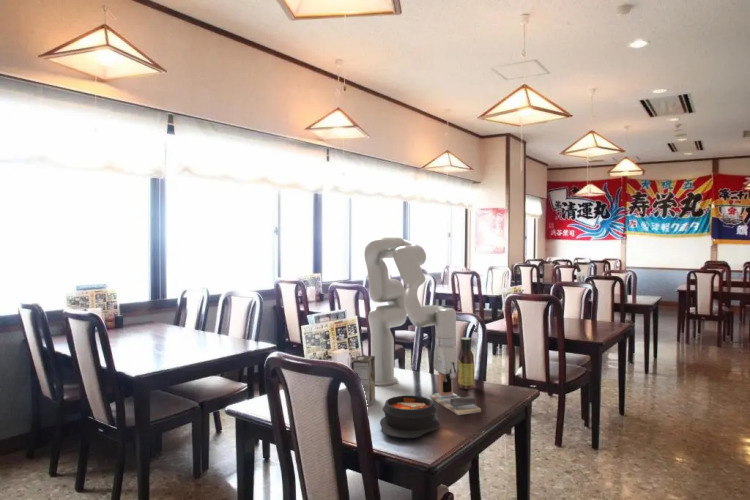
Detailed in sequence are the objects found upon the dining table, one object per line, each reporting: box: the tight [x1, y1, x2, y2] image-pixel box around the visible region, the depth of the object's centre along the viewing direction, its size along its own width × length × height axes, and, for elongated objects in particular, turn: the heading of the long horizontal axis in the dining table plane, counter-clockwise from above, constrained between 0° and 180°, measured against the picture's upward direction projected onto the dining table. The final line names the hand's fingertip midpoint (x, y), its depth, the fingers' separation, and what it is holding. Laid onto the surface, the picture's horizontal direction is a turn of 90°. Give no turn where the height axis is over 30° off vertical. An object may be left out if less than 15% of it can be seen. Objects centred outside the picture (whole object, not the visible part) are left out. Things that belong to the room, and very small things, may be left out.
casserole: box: [379, 394, 440, 439], centre depth 159 cm, size 25×19×8 cm
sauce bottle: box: [457, 336, 475, 390], centre depth 204 cm, size 6×6×20 cm
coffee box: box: [352, 355, 376, 407], centre depth 186 cm, size 9×6×16 cm
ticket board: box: [430, 394, 482, 416], centre depth 182 cm, size 20×9×4 cm, turn 21°
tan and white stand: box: [433, 372, 459, 399], centre depth 189 cm, size 5×7×9 cm
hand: (445, 390), depth 189 cm, fingers closed
